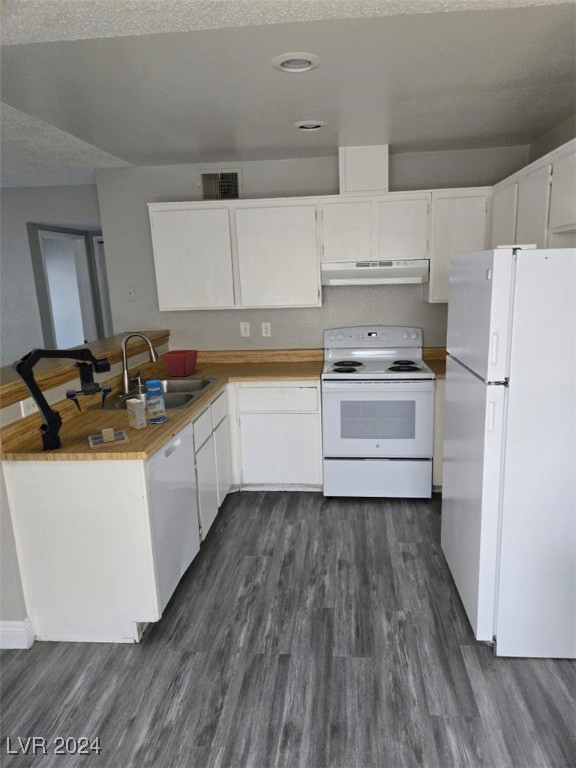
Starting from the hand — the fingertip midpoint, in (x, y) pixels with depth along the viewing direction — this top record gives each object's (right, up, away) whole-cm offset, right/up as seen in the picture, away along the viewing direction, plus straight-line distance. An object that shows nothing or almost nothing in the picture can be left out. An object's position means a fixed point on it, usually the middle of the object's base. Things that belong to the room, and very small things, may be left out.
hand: (91, 410), depth 224 cm
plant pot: (+12, +18, +135) cm, 137 cm away
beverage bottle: (+25, -7, +19) cm, 32 cm away
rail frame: (+10, -13, -6) cm, 17 cm away
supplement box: (+17, -9, +12) cm, 23 cm away
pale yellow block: (+11, -14, -9) cm, 20 cm away
